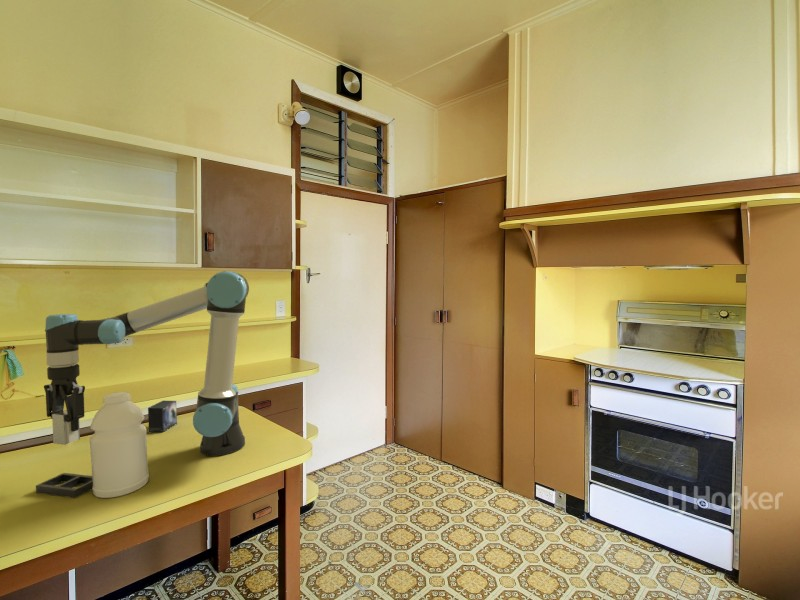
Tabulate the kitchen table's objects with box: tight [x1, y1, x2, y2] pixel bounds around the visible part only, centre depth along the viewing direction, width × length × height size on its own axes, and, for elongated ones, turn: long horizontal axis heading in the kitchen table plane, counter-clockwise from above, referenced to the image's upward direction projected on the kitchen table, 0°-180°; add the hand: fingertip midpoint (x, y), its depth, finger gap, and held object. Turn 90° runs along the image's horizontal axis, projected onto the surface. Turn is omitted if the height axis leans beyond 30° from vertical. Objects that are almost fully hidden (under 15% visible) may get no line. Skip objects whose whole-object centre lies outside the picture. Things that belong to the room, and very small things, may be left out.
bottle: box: [89, 391, 150, 499], centre depth 120 cm, size 14×14×28 cm
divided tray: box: [35, 472, 93, 499], centre depth 121 cm, size 14×8×2 cm, turn 77°
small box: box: [147, 400, 178, 433], centre depth 170 cm, size 11×6×10 cm, turn 179°
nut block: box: [51, 409, 81, 446], centre depth 123 cm, size 4×4×9 cm
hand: (66, 440), depth 123 cm, fingers closed on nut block, 4 cm apart
